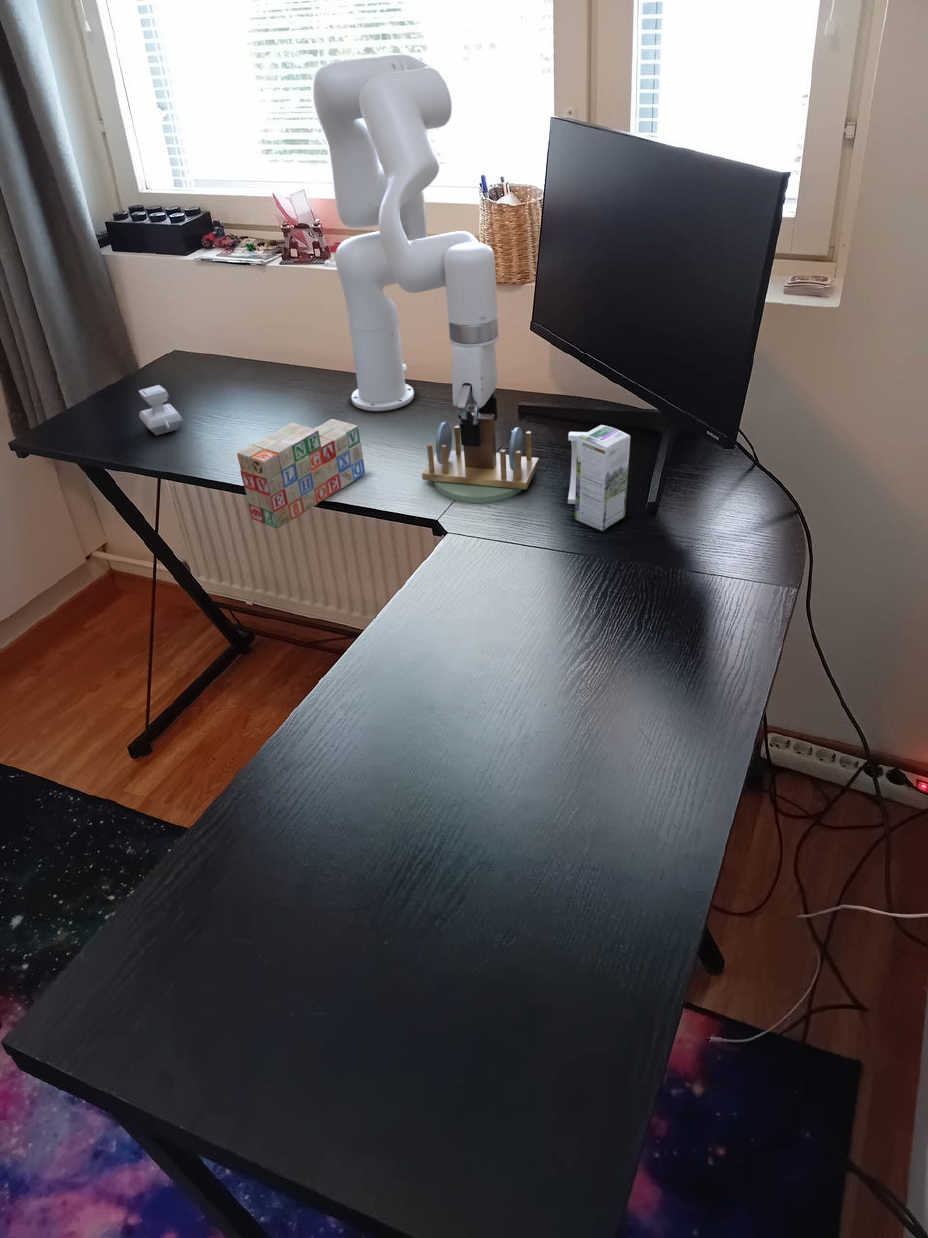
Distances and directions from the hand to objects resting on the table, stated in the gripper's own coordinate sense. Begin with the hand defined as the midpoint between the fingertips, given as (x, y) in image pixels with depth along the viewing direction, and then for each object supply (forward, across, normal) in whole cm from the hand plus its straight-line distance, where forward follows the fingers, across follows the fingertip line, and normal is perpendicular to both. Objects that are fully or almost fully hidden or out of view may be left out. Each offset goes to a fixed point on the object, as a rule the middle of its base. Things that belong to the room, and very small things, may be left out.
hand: (479, 432), depth 155 cm
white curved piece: (+9, +2, +18) cm, 20 cm away
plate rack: (+7, 0, 0) cm, 7 cm away
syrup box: (+9, +9, +22) cm, 25 cm away
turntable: (+9, 0, 0) cm, 9 cm away
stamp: (+8, -8, -67) cm, 68 cm away
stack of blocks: (+9, +11, -27) cm, 31 cm away
